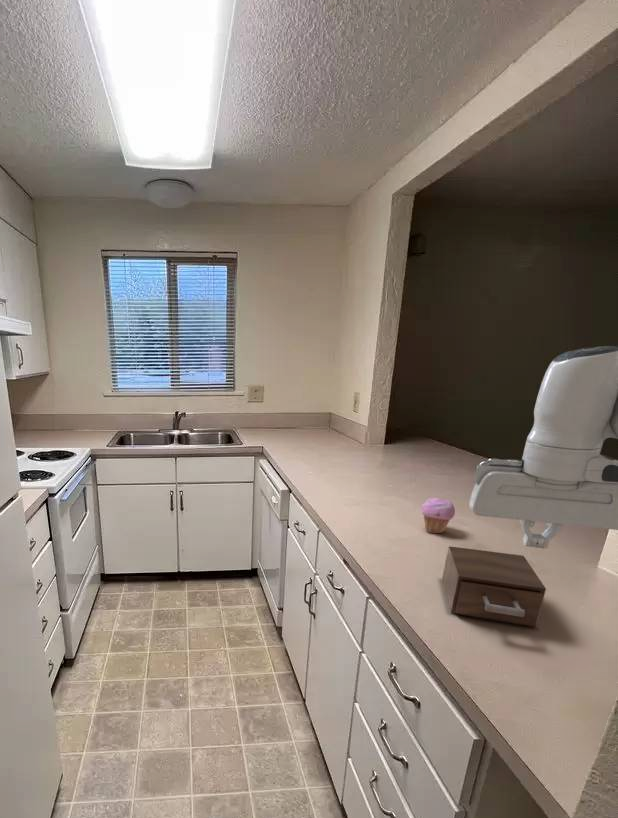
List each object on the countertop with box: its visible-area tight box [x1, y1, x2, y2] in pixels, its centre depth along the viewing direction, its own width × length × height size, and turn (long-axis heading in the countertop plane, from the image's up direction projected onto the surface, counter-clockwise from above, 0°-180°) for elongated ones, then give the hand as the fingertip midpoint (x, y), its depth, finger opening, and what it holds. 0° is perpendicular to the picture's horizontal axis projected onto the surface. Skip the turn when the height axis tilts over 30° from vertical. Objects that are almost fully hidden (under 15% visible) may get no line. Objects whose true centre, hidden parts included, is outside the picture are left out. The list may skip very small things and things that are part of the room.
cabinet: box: [441, 545, 547, 628], centre depth 91 cm, size 15×15×9 cm
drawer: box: [455, 580, 544, 627], centre depth 88 cm, size 18×13×7 cm
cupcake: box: [420, 497, 456, 534], centre depth 126 cm, size 9×9×10 cm
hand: (534, 546), depth 70 cm, fingers closed
